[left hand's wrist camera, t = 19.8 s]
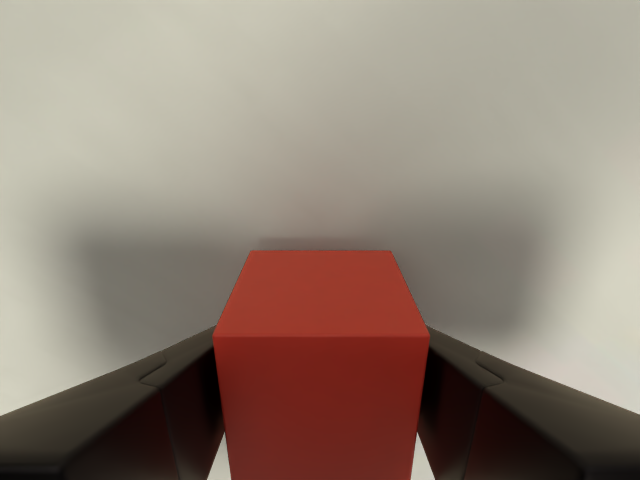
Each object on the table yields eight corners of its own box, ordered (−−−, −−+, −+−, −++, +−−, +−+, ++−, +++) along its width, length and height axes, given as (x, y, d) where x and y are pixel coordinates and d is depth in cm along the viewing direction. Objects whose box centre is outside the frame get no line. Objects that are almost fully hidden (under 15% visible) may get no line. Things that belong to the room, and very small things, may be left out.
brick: (250, 249, 12) (211, 334, 8) (391, 249, 12) (431, 335, 7) (259, 370, 14) (232, 494, 9) (381, 371, 14) (409, 494, 9)
